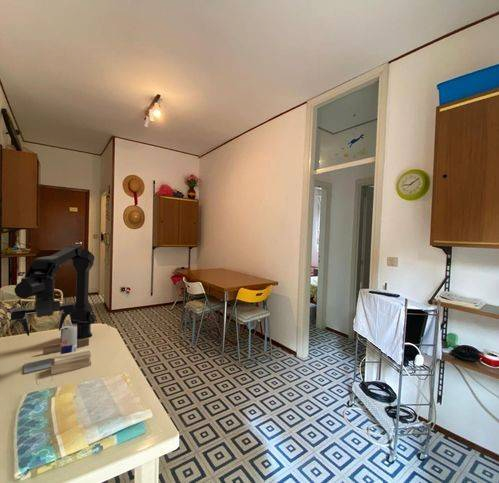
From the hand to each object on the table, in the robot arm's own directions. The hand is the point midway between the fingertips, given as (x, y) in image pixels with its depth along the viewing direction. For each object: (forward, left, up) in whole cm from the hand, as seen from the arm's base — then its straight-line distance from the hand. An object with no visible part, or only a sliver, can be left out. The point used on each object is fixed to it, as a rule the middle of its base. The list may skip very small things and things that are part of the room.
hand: (44, 332), depth 100 cm
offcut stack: (+9, +8, -12) cm, 16 cm away
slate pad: (+2, -2, -12) cm, 12 cm away
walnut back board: (-10, +8, -12) cm, 17 cm away
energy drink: (-1, +8, -12) cm, 14 cm away
